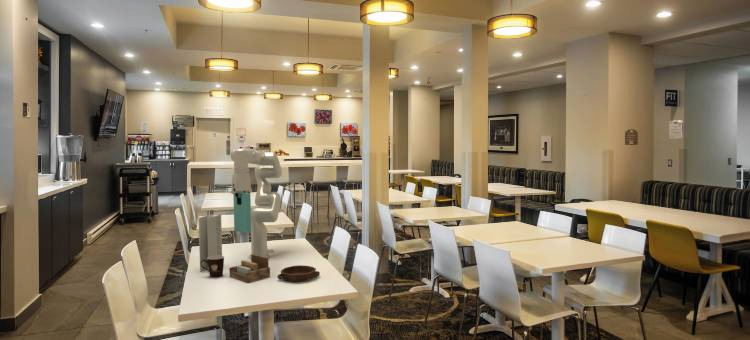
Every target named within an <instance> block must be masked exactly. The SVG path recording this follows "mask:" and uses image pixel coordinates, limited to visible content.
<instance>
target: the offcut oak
mask: <svg viewBox="0 0 750 340" xmlns="http://www.w3.org/2000/svg"><path fill="white" fill-rule="evenodd" d="M240 265H241V266H244V267H247V268H250V269H251V271H255V270H258V264H256V263H253V262H251V261H248V260H245V259H243V260H241V261H240Z"/></svg>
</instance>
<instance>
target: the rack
mask: <svg viewBox="0 0 750 340" xmlns="http://www.w3.org/2000/svg"><path fill="white" fill-rule="evenodd" d="M250 255H251V259H250V262H253V263H256V264H258V270H255V271H251V272H247V273H246V275H243V274H239V273H237V266H241V264H240V265H235V266H232V267H231V266H230V267H229V270H228V271H229V278H231V279H235V280H237V281H240V282H243V283H246V284H248V283H253V282H256V281H260V280H264V279H267V278H270V277H271V267H270V266H269V258H267V257H263V256H259V255H255V254H250Z"/></svg>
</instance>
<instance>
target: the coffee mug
mask: <svg viewBox="0 0 750 340" xmlns="http://www.w3.org/2000/svg"><path fill="white" fill-rule="evenodd" d="M207 260H208V261H207ZM207 260H202V261H201V263H202V262H203V261H206V262H207V263H208V267H209V270H208V268H207V269H206V268H205V267H203V266H202V264H201V263H200V262H199V266H200V265H201V266H202V267H203V268H204V269H205V270H206V271H207V272H208V273H209V278H220V277H223V274H224V262H225V256H224V255H222V256H210V257H208V258H207Z"/></svg>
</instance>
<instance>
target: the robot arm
mask: <svg viewBox="0 0 750 340" xmlns="http://www.w3.org/2000/svg"><path fill="white" fill-rule="evenodd" d="M229 156H230V158H231V161H232V162H233V170H234V171H233V173H232V177H231V187H230V188H231V189H230V190H231V191H230V194H232V195H233V194H234V195H235V196H236V197H237V204H238V205H241V198H240V192H244V193H250V194H251V193H252V192H253V189H252V181H251V180H252V179H251V176H250V175H251V174H250V173H249V172H250V171H251V169H250V168H249V165H256V166H255V168H254V175H255V180H256V183H257V188H256V193H255V197H254V204H255V206H253V207H251V233H250V240H251V241H250V244H251V246H250V248H251V254H255V255H259V256H263V257H267V258H268V259H269V258H270V257H271V255H270V253H274V249H273V248H272V249H268V228H267V226H266V225H265V223H276V222H277V220H278V219H279V215H280V214H279V213H280V208H281V201H282V198H281V195H280V192H278V191H272V184H270V182H269V181H268V180H267V179H279V178H280V177H281V176H282V173H283V171H282V167H281V164H280V159H279V157H278V155H277V153H276V152H274V151H260V150H256V149H253V148H243V147H242V148H241V147H240V148H239V147H237V148H233V149H231V150H230V155H229ZM235 192H236V193H235ZM251 254H250V255H249V256H248V258H249V259H250V260H251Z"/></svg>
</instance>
